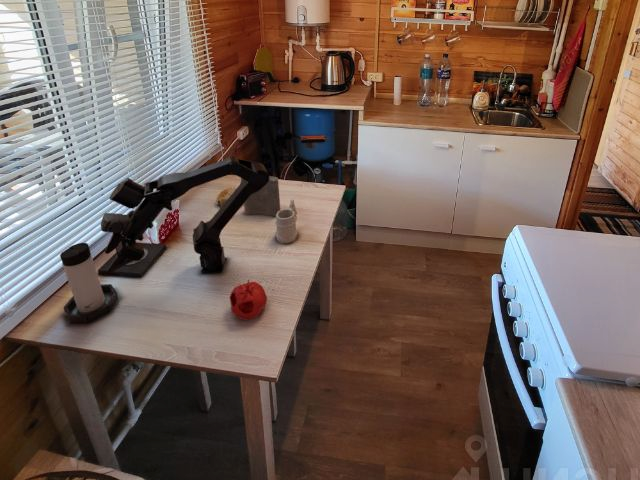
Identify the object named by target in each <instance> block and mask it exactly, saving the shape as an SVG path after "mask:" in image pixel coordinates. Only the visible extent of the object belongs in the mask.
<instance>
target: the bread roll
mask: <svg viewBox="0 0 640 480" xmlns="http://www.w3.org/2000/svg"><path fill="white" fill-rule="evenodd" d="M236 189H237V187H229V188H225V189H223V190H221V191H220V192H219V194H218V195H217V197H216V200H215V201H216V203H217V204H218V206H219V207H220V208H221V207H222V206H223V204H224V203H225V202H226V201H227V200H228V198H229V197H230V196H231V195H232V194H233V192H234V191H235V190H236Z"/></svg>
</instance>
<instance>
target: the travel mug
mask: <svg viewBox="0 0 640 480" xmlns="http://www.w3.org/2000/svg"><path fill="white" fill-rule="evenodd" d="M59 258H60V260H61V264H62V266H63V270H64V273H65V276H66V278H67V282H68V284H69V287H70V290H71V293H72V297H74V299H75V302H76V308H77V311H78V314H79V315H81V314H89V313H91V312H93V311H95V310H97V309H99V308H101V307H102V306H104V305H106V298H105V295H104V293H103V291H102V288H101V281H100V279H99V274H98V270H97V268H96V265H95V262H94V258H93V255H92V252H91V248H90V246H89V244H88V243H87V242H80V243H79V242H78V243H75V244H73V245H71V246H69V247H68V248H66V249H65V250H64V251H62V252H61V253H60V255H59Z"/></svg>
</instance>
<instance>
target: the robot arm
mask: <svg viewBox="0 0 640 480" xmlns="http://www.w3.org/2000/svg"><path fill="white" fill-rule="evenodd" d="M229 175H234V176H237V177H239V178H240V183H239V184H238V186H237V187H236V190H235V191H234V192H233V194H232V195H231V196H230V197H229V198H228V200H227V201H226V202H225V203H224V204H223V206H222V207H221V206H220V208H219V209H218V210H217V211H216V213H215V214H214V215H213V217H212V218H211V219H209V220H208V221H206V222H205V221H203V220H201V221H199V223H198V225H197V226H196V227H195V228H194V229H192V230H193V233H192V244H193V251H194V252H195V253H196V254H198V255H200V256H199V257H198V258H199V264H200V268H201V270H200V273H201V274H222V273H223V271H224V269H225V266H226V263H227V261H228V258H227V257H226V256H225V255H226V254H225V249H224V246H222V241H221V238H220V236H221V232H222V230H224V228H225V227H226V226H227V225H228V223H229V222H230V221H231V220H232V219H233V217H235V215H236V214H237V212H238V211H239V210H240V209H241V208H242V207H243V206H244V203H245V202H246V200H247V199H248V198H249V197H250V196H251V195H252V194H254V193H256V192H258V191H260V190H261V189H262V188H263V187H264V186H265V185H266V184H267V183H268V182H269V176H270V174H269V173H268V171H267V168H266V167H265V165H264V164H263V163H261V162H253V161H250V160H249V159H248V160H247V159H243V158H239V157H236V156H228V157H227V158H225V159H223V160H219V161H217V162H214V163H211V164H208V165H205V166H202V167H200V168H196V169H194V170H191V171H188V172H173V173H172V172H171V173H168V174H164V175H161V176H160V177H158V179H154V180H151V181H148V182H145V183H144V186H143V185H142V184H140V183H137V182H135V181H134V180H133V179H131V178H129V177H126V178H125V179H124V180H122V181H121V182H119V183H118V184H117V185H116V187H115V188H114V189H113V190H112V192H111V194H110V195H109V200H110V201H112V202H115V203H117V204H119V205H121V206H123V207H125V208H128V209H132V210H130V211H129V212H128V213H127V214H123V213H114V212H105V213H103V216H102V219H101V222H100V230H101V232H103V233H112V234H111V237H110V238H109V241H108V243H107V246H106V248H105V249H104V253H105V254H107V255H108V254H110V253H112V252H113V251H114V250H115V253H116V254H117V255H116V257H115V258H114V260H113V262H112V263H111V265H110V267H109V268H108V270H107V271H108V272H110V273H111V272H113V271H115V270H117V269H119V268H121V267H122V266H124V265H126V264H128V263H130V262H132V261H141V259H142V258H143V257H144V255H145V253H144V249H143V245H142V244H140V243H141V242H142V241H144V239H145V237H144V234H145V233H146V232H147V230H148V229H152V228H154V222H155V220H156V219H157V218H158V216H159V215H160V214H161V213H162V211H163V210H164V209H166V210H168V211H173V206H172V202H173V201H174V200H177V199H178V198H180V197H182V196H184V195H185V194H187V192H189V191H190V190H191V189H193V188H196V187H199V186H201V185H204V184H207V183H211V182H213V181H216V180H219V179H221V178H223V177H227V176H229ZM241 178H242V180H241ZM154 190H155V191H154ZM135 208H136V209H135ZM133 209H135V210H133ZM137 241H140V242H138V243H137Z"/></svg>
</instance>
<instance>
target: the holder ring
mask: <svg viewBox="0 0 640 480" xmlns="http://www.w3.org/2000/svg"><path fill="white" fill-rule="evenodd" d="M100 285H101V288H102V291H103V294H111V296H110V298H109V299H108V300H107V301H106V302H105V304H104V306H102V307H101V308H99V309H97V310H95V311H93V312H91V313H89V314H72V313H71V312H72V311H73V310H74V308H75V307H77V305H76V302H75V299H74V297H73V296H72V297H71V298H70V299H69V300H68V301H67V302H66V303H65V305H64V306H63V310H64V313H65V316H66V319H67V320H68V323H69V324H70V325H85V324H86V325H87V324H91V323H93V322H95V321H97V320H99V319H100V318H102V317H105V316H106V315H108V314H109V313H110V312H111V311H112V310H113V308H114V307H115V305H116V304H117V303H118V302H119V299H120V298H119V296H118V292H117V290H116V289H115V288H114V286H113V284H110V283H107V284H105V283H104V284H103V283H102V284H101V283H100Z"/></svg>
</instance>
